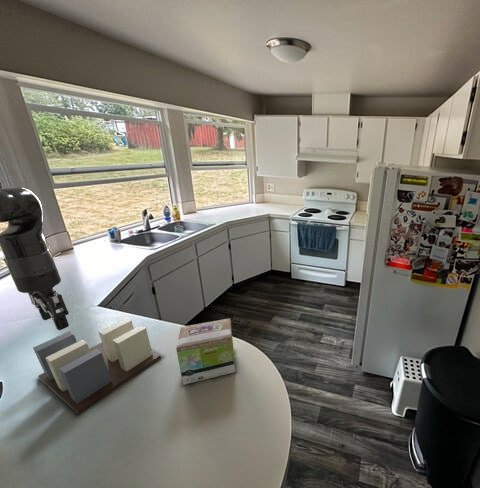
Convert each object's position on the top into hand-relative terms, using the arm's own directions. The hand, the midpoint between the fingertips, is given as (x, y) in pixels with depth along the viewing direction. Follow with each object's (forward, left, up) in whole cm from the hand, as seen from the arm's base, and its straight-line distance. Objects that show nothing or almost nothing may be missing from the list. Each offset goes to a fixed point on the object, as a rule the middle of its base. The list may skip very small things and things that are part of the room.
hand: (56, 323), depth 68 cm
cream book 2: (+12, 0, -20) cm, 23 cm away
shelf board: (+6, 0, -21) cm, 22 cm away
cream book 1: (0, 0, -20) cm, 20 cm away
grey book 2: (0, -8, -20) cm, 22 cm away
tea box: (+22, -30, -22) cm, 43 cm away
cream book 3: (+12, -8, -20) cm, 25 cm away
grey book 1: (0, +8, -20) cm, 22 cm away
